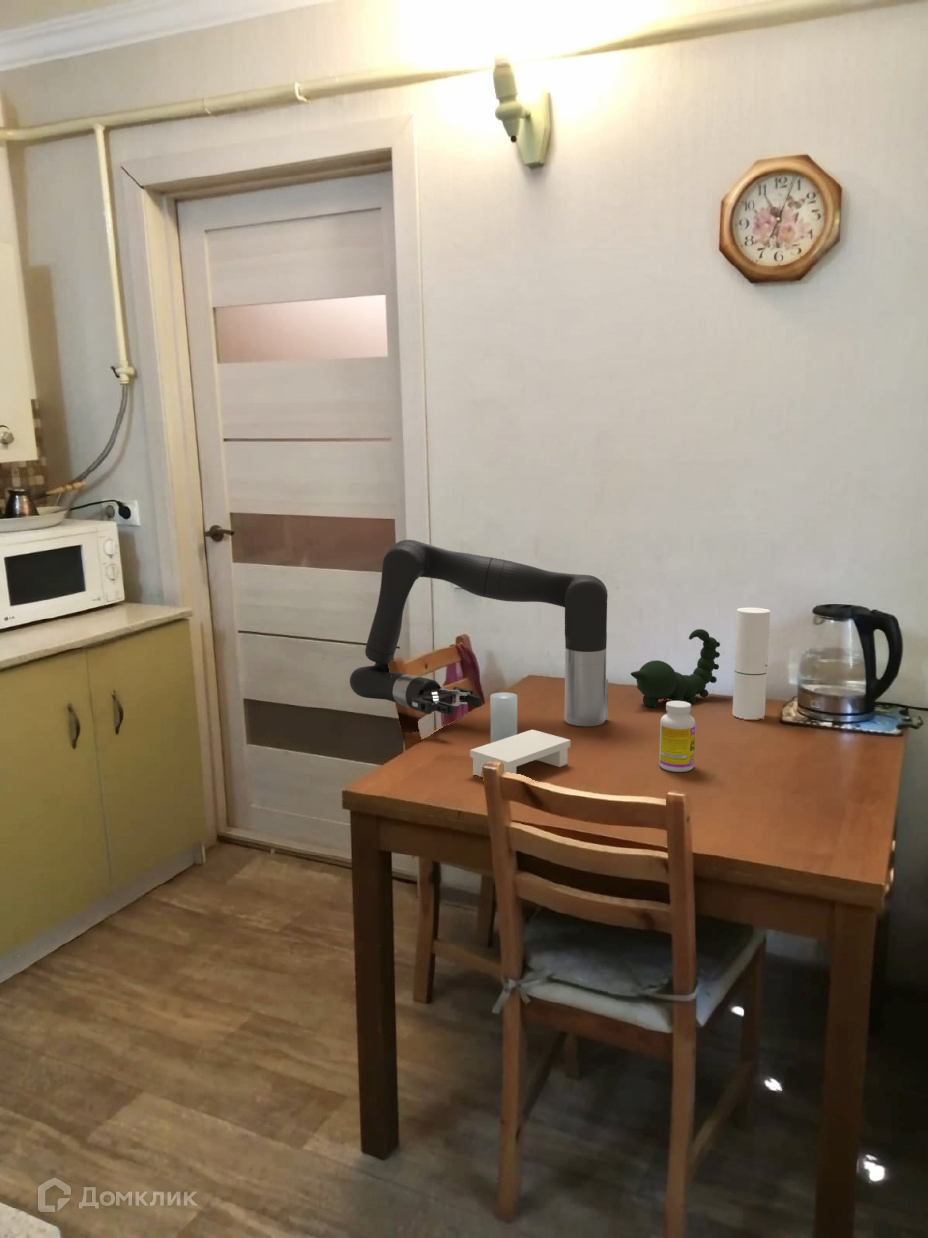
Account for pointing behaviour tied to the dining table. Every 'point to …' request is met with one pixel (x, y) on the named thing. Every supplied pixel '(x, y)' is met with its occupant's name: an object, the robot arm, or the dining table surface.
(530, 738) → the white riser stand
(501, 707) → the white rounded cylinder
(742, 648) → the cylindrical container
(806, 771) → the dining table surface
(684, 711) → the supplement bottle
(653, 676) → the toy figurine
